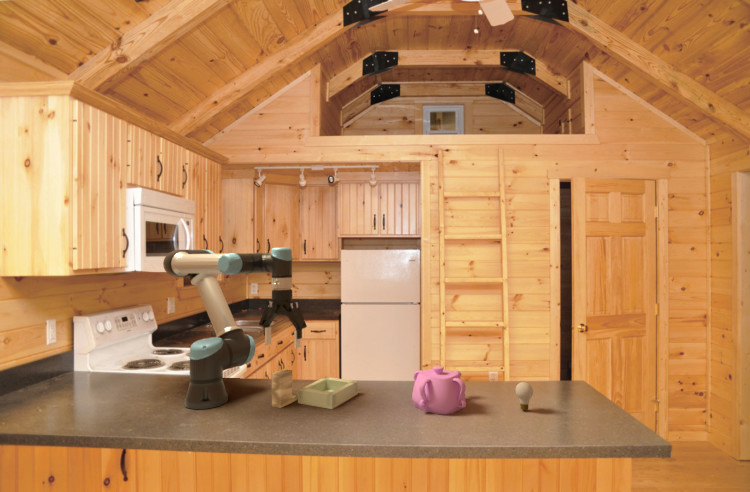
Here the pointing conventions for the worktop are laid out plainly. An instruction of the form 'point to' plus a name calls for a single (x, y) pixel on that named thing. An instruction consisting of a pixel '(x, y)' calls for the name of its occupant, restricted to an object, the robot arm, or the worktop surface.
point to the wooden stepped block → (282, 388)
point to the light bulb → (524, 394)
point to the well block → (327, 392)
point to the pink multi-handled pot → (439, 391)
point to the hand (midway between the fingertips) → (282, 346)
